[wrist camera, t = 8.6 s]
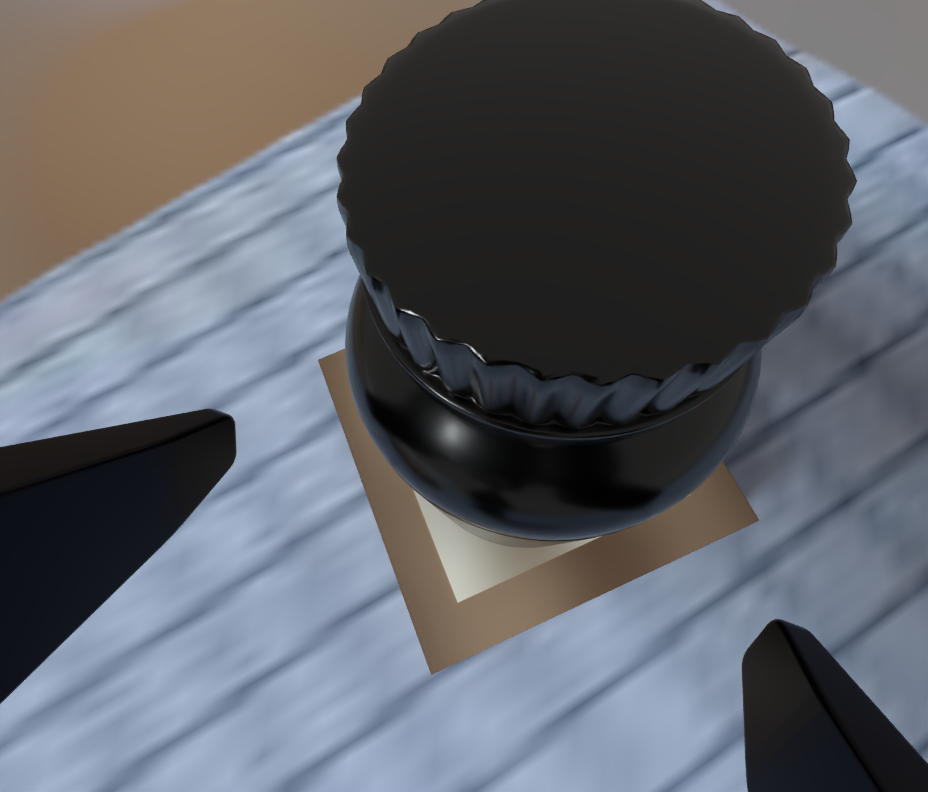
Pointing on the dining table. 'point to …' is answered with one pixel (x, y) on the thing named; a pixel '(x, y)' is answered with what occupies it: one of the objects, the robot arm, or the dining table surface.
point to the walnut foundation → (512, 550)
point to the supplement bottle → (579, 254)
